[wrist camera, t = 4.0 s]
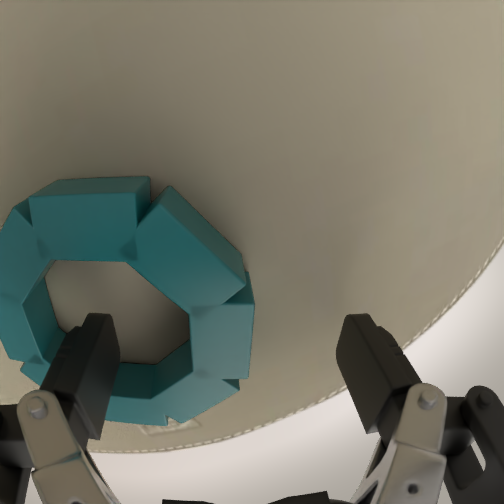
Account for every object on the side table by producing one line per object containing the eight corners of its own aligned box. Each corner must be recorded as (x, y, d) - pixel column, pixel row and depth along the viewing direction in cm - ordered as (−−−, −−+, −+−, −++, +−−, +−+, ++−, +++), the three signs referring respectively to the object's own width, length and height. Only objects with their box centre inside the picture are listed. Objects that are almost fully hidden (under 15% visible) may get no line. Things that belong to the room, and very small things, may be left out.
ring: (48, 379, 13) (36, 408, 11) (-10, 186, 9) (-42, 203, 7) (240, 393, 14) (244, 427, 12) (255, 177, 10) (264, 194, 8)
